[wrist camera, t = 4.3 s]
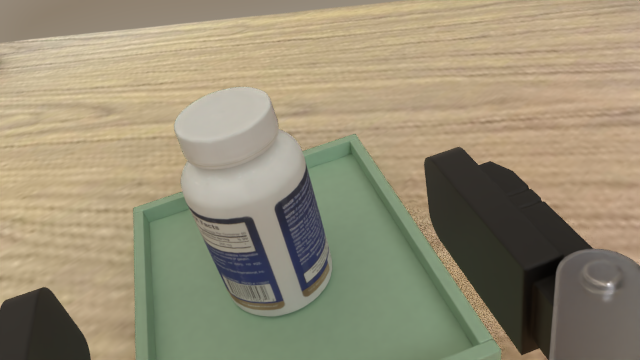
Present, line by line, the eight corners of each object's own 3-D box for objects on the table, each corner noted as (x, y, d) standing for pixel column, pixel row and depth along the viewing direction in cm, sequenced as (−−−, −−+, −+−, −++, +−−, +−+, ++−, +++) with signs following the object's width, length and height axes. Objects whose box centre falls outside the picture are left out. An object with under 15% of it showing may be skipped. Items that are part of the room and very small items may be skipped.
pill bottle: (308, 224, 31) (262, 64, 25) (352, 287, 26) (309, 113, 21) (216, 266, 29) (144, 109, 24) (247, 340, 25) (169, 170, 19)
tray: (141, 223, 34) (132, 207, 33) (358, 150, 36) (355, 133, 35) (151, 507, 21) (137, 492, 20) (501, 369, 22) (501, 350, 21)
